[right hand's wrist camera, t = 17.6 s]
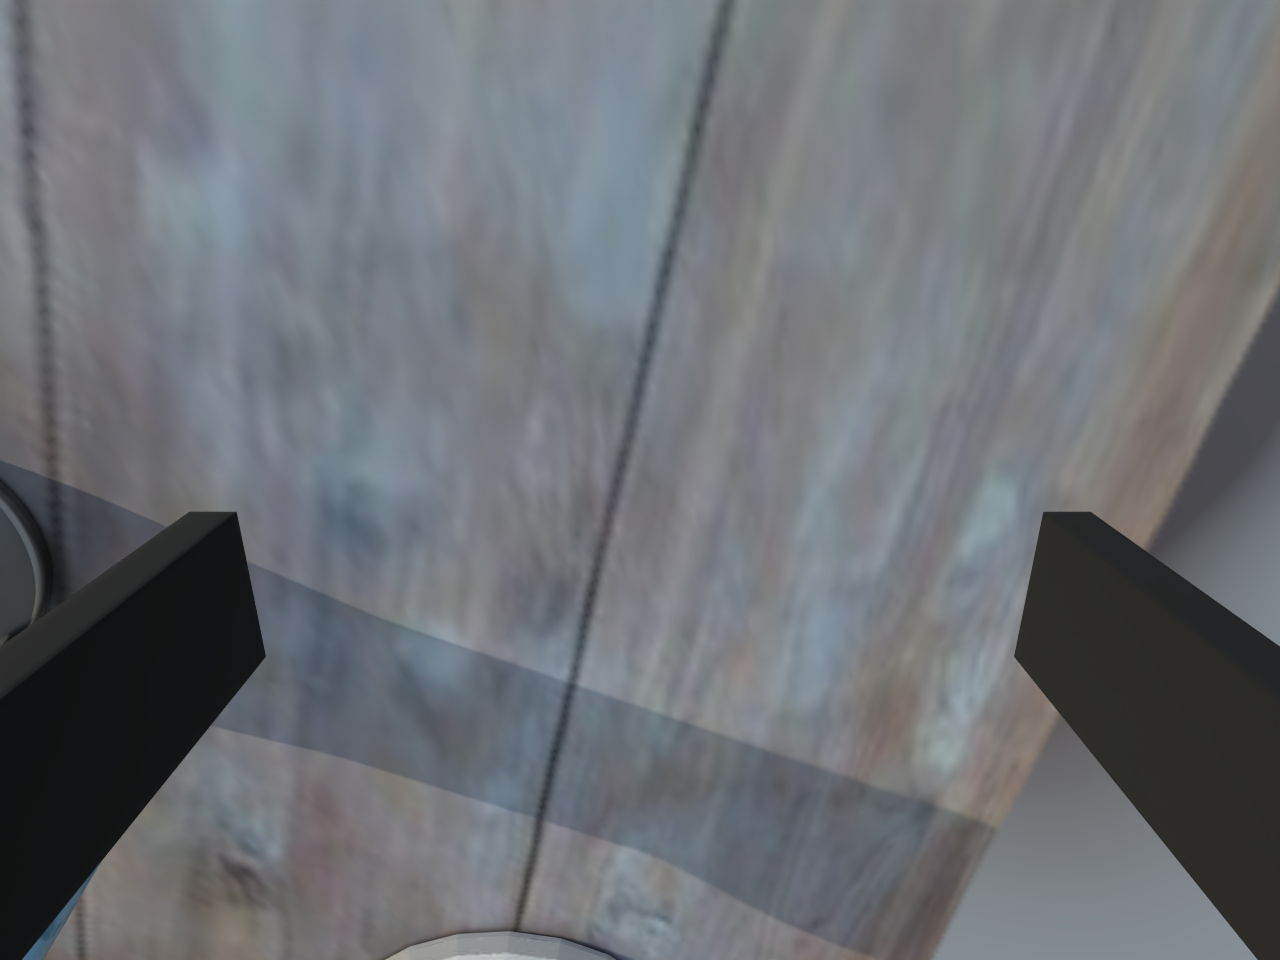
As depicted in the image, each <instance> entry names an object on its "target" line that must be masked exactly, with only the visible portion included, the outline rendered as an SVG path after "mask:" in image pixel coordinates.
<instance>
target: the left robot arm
mask: <svg viewBox="0 0 1280 960" xmlns="http://www.w3.org/2000/svg"><path fill="white" fill-rule="evenodd" d="M51 588H52V573H51V565H50V559H49V555H48V552H47V548H46V545H45V543H44V540H43V538H42V535H41V533H40V531H39V529H38V527H37V525H36V524H35V522H34V520H33V519H32V517H31V516H30V514H29V512H28V511H27V510H26V508H25V507H24V506H23V504H22V503H21V502H20V501H19V499H18V498H17V497H16V496H15V495H14V494H13V493H12V491H11V490H10V489H8V488H7V487H6V486H5V485H4V484H3V483H2V482H1V481H0V646H2V645H3V644H5V643H6V642H7V641H9V640H10V639H12V638H13V637H14V636H16V635H17V634H19V633H20V632H21V631H23V630H24V629H26V628H27V627H28V626H30V625H31V624H33V623H34V622H35V621H37V620H38V619H40V618H41V617H42V616H44V614H45V611H46V609H47V606H48V603H49V600H50V595H51ZM100 863H101V862H100ZM98 866H99V865H98ZM98 866H97V867H96V869H97V868H98ZM96 869H95V870H94V871H93V872H92V873H91V875H90V876H89V877H88V878H87V880H86V881H85V882H84V883H83V885H82V886H81V887H80V888H79V890H78V891H77V892H76V893H75V895H74V896H73V897H72V898H71V900H70V901H69V902H68V903H67V905H66V906H65V907H64V908H63V910H62V911H61V912H60V913H59V915H58V916H57V917H56V918H55V920H54V921H53V922H52V923H51V924H50V926H49V927H48V928H47V929H46V931H45V932H44V933H43V934H42V936H41V937H40V938H39V939H38V941H37V942H36V943H35V944H34V946H33V947H32V948H31V949H30V951H29V952H28V953H27V954H26V956H25V957H24V958H23V959H22V960H43V959H44V957H45V956H46V954H47V952H48V951H49V949H50V947H51V946H52V944H53V942H54V941H55V939H56V937H57V936H58V934H59V932H60V931H61V929H62V927H63V926H64V924H65V922H66V921H67V919H68V917H69V915H70V914H71V912H72V910H73V909H74V907H75V905H76V904H77V902H78V900H79V899H80V897H81V895H82V893H83V892H84V890H85V888H86V887H87V885H88V883H89V881H90V880H91V878H92V876H93V875H94V873H95V871H96Z"/></svg>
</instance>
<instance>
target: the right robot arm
mask: <svg viewBox="0 0 1280 960" xmlns="http://www.w3.org/2000/svg"><path fill="white" fill-rule="evenodd" d="M265 657H266V655H265V650H264V645H263V640H262V635H261V630H260V625H259V620H258V615H257V610H256V606H255V601H254V596H253V591H252V586H251V581H250V576H249V571H248V566H247V561H246V556H245V551H244V546H243V541H242V536H241V531H240V526H239V521H238V517H237V512H189V513H187V514H186V515H184V516H183V517H182V518H180V519H179V520H177V521H176V522H175V523H173V524H172V525H170V526H169V527H168V528H166V529H165V530H163V531H162V532H160V533H159V534H158V535H156V536H155V537H153V538H152V539H151V540H149V541H148V542H146V543H145V544H144V545H142V546H141V547H139V548H138V549H137V550H135V551H134V552H132V553H131V554H130V555H128V556H127V557H125V558H124V559H123V560H121V561H120V562H118V563H117V564H116V565H114V566H113V567H111V568H110V569H109V570H107V571H106V572H104V573H103V574H101V575H100V576H99V577H97V578H96V579H94V580H93V581H92V582H90V583H89V584H87V585H86V586H85V587H83V588H82V589H80V590H79V591H78V592H76V593H75V594H73V595H72V596H71V597H69V598H68V599H66V600H65V601H64V602H62V603H61V604H59V605H58V606H57V607H55V608H54V609H52V610H51V611H50V612H48V613H47V614H45V615H44V616H42V617H41V618H40V619H38V620H37V621H35V622H34V623H33V624H31V625H30V626H28V627H27V628H26V629H24V630H23V631H21V632H20V633H19V634H17V635H16V636H14V637H13V638H12V639H10V640H9V641H7V642H6V643H5V644H3V645H2V646H0V960H22V959H23V958H24V957H25V956H26V954H27V953H28V952H29V951H30V949H31V948H32V947H33V946H34V944H35V943H36V942H37V941H38V939H39V938H40V937H41V936H42V934H43V933H44V932H45V931H46V929H47V928H48V927H49V926H50V924H51V923H52V922H53V921H54V920H55V918H56V917H57V916H58V915H59V913H60V912H61V911H62V910H63V908H64V907H65V906H66V905H67V903H68V902H69V901H70V900H71V898H72V897H73V896H74V895H75V893H76V892H77V891H78V890H79V888H80V887H81V886H82V885H83V883H84V882H85V881H86V880H87V878H88V877H89V876H90V875H91V873H92V872H93V871H94V870H95V869H96V867H97V866H98V865H99V864H100V862H101V861H102V860H103V859H104V857H105V856H106V855H107V854H108V852H109V851H110V850H111V849H112V847H113V846H114V845H115V844H116V842H117V841H118V840H119V839H120V837H121V836H122V835H123V834H124V832H125V831H126V830H127V829H128V827H129V826H130V825H131V824H132V822H133V821H134V820H135V819H136V818H137V816H138V815H139V814H140V813H141V811H142V810H143V809H144V808H145V806H146V805H147V804H148V803H149V801H150V800H151V799H152V798H153V796H154V795H155V794H156V793H157V791H158V790H159V789H160V788H161V786H162V785H163V784H164V783H165V781H166V780H167V779H168V778H169V776H170V775H171V774H172V773H173V771H174V770H175V769H176V768H177V766H178V765H179V764H180V763H181V762H182V760H183V759H184V758H185V757H186V755H187V754H188V753H189V752H190V750H191V749H192V748H193V747H194V745H195V744H196V743H197V742H198V740H199V739H200V738H201V737H202V735H203V734H204V733H205V732H206V730H207V729H208V728H209V727H210V725H211V724H212V723H213V722H214V720H215V719H216V718H217V717H218V715H219V714H220V713H221V712H222V711H223V709H224V708H225V707H226V706H227V704H228V703H229V702H230V701H231V699H232V698H233V697H234V696H235V694H236V693H237V692H238V691H239V689H240V688H241V687H242V686H243V684H244V683H245V682H246V681H247V679H248V678H249V677H250V676H251V674H252V673H253V672H254V671H255V669H256V668H257V667H258V666H259V664H260V663H261V662H262V661H263V660H264V658H265ZM1014 657H1015V658H1016V660H1017V661H1018V662H1019V663H1020V664H1021V666H1022V667H1023V668H1024V669H1025V671H1026V672H1027V673H1028V674H1029V676H1030V677H1031V678H1032V679H1033V681H1034V682H1035V683H1036V684H1037V686H1038V687H1039V688H1040V689H1041V691H1042V692H1043V693H1044V694H1045V696H1046V697H1047V698H1048V699H1049V701H1050V702H1051V703H1052V704H1053V706H1054V707H1055V708H1056V709H1057V711H1058V712H1059V713H1060V714H1061V715H1062V717H1063V718H1064V719H1065V720H1066V722H1067V723H1068V724H1069V725H1070V727H1071V728H1072V729H1073V730H1074V732H1075V733H1076V734H1077V735H1078V737H1079V738H1080V739H1081V740H1082V741H1083V743H1084V744H1085V745H1086V747H1087V748H1088V749H1089V750H1090V752H1091V753H1092V754H1093V755H1094V757H1095V758H1096V759H1097V760H1098V761H1099V763H1100V764H1101V765H1102V767H1103V768H1104V769H1105V770H1106V771H1107V773H1108V774H1109V775H1110V776H1111V778H1112V779H1113V780H1114V781H1115V783H1116V784H1117V785H1118V786H1119V788H1120V789H1121V790H1122V791H1123V793H1124V794H1125V795H1126V796H1127V798H1128V799H1129V800H1130V801H1131V803H1132V804H1133V805H1134V806H1135V808H1136V809H1137V810H1138V811H1139V812H1140V814H1141V815H1142V816H1143V818H1144V819H1145V820H1146V821H1147V822H1148V824H1149V825H1150V826H1151V827H1152V829H1153V830H1154V831H1155V832H1156V834H1157V835H1158V836H1159V837H1160V839H1161V840H1162V841H1163V842H1164V844H1165V845H1166V846H1167V847H1168V848H1169V850H1170V851H1171V852H1172V854H1173V855H1174V856H1175V857H1176V859H1177V860H1178V861H1179V862H1180V864H1181V865H1182V866H1183V867H1184V868H1185V870H1186V871H1187V872H1188V873H1189V875H1190V876H1191V877H1192V878H1193V880H1194V881H1195V882H1196V883H1197V885H1198V886H1199V887H1200V888H1201V890H1202V891H1203V892H1204V893H1205V895H1206V896H1207V897H1208V898H1209V900H1210V901H1211V902H1212V903H1213V905H1214V906H1215V907H1216V908H1217V910H1218V911H1219V912H1220V913H1221V914H1222V916H1223V917H1224V918H1225V919H1226V921H1227V922H1228V923H1229V924H1230V926H1231V927H1232V928H1233V929H1234V931H1235V932H1236V933H1237V934H1238V936H1239V937H1240V938H1241V939H1242V941H1243V942H1244V943H1245V944H1246V946H1247V947H1248V948H1249V949H1250V951H1251V952H1252V953H1253V954H1254V956H1255V957H1256V958H1257V959H1258V960H1280V646H1278V645H1277V644H1275V643H1274V642H1273V641H1271V640H1270V639H1268V638H1267V637H1266V636H1264V635H1263V634H1261V633H1260V632H1259V631H1257V630H1256V629H1254V628H1253V627H1251V626H1250V625H1249V624H1247V623H1246V622H1245V621H1243V620H1242V619H1240V618H1239V617H1238V616H1236V615H1235V614H1233V613H1232V612H1230V611H1229V610H1228V609H1226V608H1225V607H1223V606H1222V605H1221V604H1219V603H1218V602H1216V601H1215V600H1214V599H1212V598H1211V597H1209V596H1208V595H1207V594H1205V593H1204V592H1202V591H1201V590H1200V589H1198V588H1197V587H1195V586H1194V585H1192V584H1191V583H1190V582H1188V581H1187V580H1185V579H1184V578H1183V577H1181V576H1180V575H1178V574H1177V573H1176V572H1174V571H1173V570H1171V569H1170V568H1169V567H1167V566H1166V565H1164V564H1163V563H1162V562H1160V561H1159V560H1157V559H1156V558H1155V557H1153V556H1152V555H1150V554H1149V553H1148V552H1146V551H1145V550H1143V549H1142V548H1141V547H1139V546H1138V545H1136V544H1135V543H1134V542H1132V541H1131V540H1129V539H1128V538H1127V537H1125V536H1124V535H1122V534H1121V533H1120V532H1118V531H1117V530H1115V529H1114V528H1112V527H1111V526H1110V525H1108V524H1107V523H1105V522H1104V521H1103V520H1101V519H1100V518H1098V517H1097V516H1096V515H1094V514H1093V513H1091V512H1043V517H1042V521H1041V526H1040V531H1039V536H1038V541H1037V546H1036V551H1035V556H1034V561H1033V566H1032V571H1031V576H1030V581H1029V586H1028V591H1027V596H1026V601H1025V606H1024V610H1023V615H1022V620H1021V625H1020V630H1019V635H1018V640H1017V645H1016V650H1015V655H1014Z"/></svg>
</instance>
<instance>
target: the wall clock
mask: <svg viewBox="0 0 1280 960" xmlns="http://www.w3.org/2000/svg"><path fill="white" fill-rule="evenodd" d="M386 960H616V959H614V958H613V957H611V956H610V955H608V954H605V953H602V952H599V951H596V950H593V949H590V948H588V947H585V946H582V945H579V944H576V943H573V942H570V941H567V940H564V939H561V938H555V937H547V936H540V935H533V934H526V933H518V932H511V931H505V932H486V933H468V934H456V935H452V936H448V937H445V938H441V939H437V940H433V941H429V942H425V943H421V944H418V945H414V946H410V947H408V948H406V949H405V950H403V951H401V952H399V953H397V954H395V955H393V956H391V957H389V958H387V959H386Z"/></svg>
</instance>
